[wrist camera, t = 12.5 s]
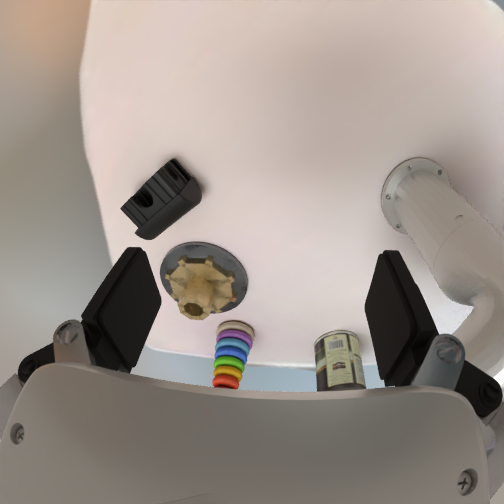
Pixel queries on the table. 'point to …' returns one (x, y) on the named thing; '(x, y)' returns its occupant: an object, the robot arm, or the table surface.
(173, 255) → the plate
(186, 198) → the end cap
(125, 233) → the table surface
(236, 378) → the stacking toy
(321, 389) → the coffee can
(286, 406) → the robot arm
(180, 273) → the tan faceted octagonal piece
